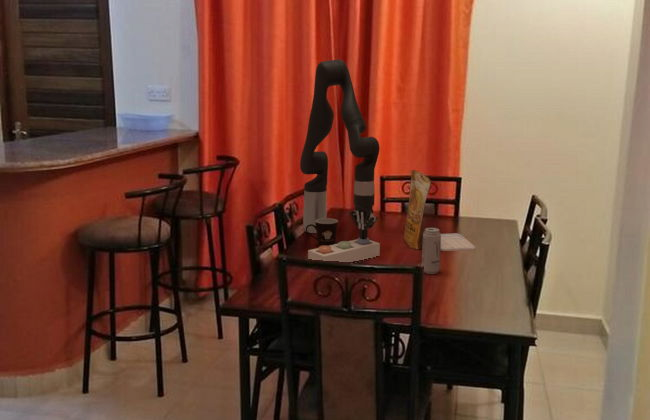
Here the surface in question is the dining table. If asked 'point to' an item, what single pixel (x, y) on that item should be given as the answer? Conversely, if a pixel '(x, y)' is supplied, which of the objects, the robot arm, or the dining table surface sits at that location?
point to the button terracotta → (324, 249)
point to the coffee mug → (325, 231)
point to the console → (347, 252)
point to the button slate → (363, 241)
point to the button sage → (344, 245)
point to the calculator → (455, 243)
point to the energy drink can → (431, 250)
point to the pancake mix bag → (416, 209)
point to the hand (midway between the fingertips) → (363, 238)
